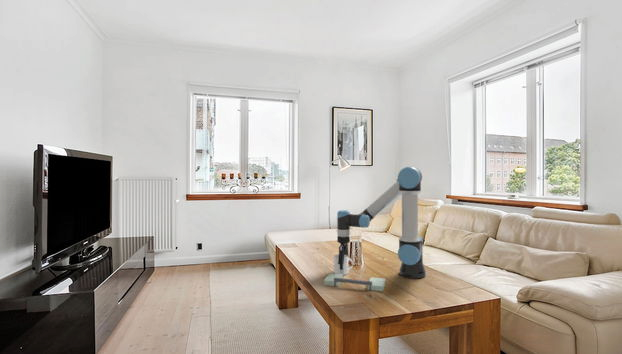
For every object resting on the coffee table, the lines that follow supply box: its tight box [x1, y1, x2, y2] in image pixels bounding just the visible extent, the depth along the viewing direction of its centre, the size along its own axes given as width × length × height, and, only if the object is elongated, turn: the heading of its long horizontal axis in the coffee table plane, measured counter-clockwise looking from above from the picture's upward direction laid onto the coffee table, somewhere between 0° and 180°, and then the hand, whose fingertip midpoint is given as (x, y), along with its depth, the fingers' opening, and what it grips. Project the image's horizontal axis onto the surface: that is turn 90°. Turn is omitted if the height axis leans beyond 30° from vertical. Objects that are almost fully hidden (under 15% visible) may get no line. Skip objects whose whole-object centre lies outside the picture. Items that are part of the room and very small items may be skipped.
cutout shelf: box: [323, 272, 386, 292], centre depth 178 cm, size 32×13×4 cm, turn 71°
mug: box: [333, 253, 354, 276], centre depth 197 cm, size 9×12×11 cm
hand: (343, 271), depth 197 cm, fingers open, 10 cm apart
